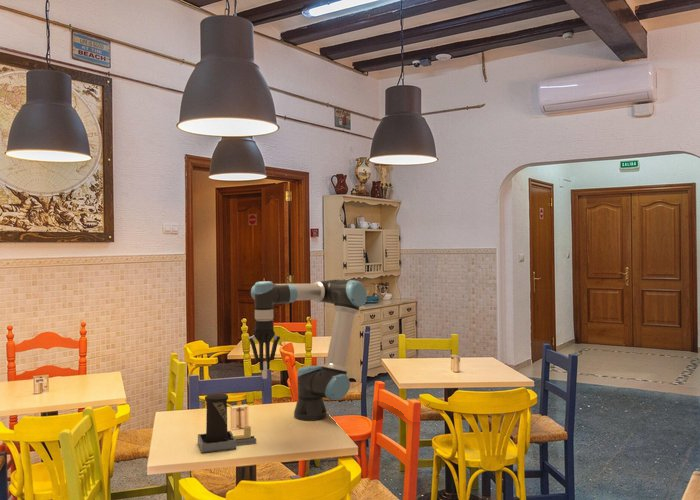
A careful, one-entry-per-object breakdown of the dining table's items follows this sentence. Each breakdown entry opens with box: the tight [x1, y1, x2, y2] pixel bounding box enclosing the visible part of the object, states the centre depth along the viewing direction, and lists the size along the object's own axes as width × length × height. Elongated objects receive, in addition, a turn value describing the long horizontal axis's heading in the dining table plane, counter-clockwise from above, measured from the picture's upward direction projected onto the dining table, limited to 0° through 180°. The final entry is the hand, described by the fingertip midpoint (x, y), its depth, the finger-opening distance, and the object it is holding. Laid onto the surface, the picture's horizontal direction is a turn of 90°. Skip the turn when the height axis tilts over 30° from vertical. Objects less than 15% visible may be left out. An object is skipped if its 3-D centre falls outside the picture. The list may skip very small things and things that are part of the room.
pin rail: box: [236, 435, 257, 447], centre depth 246 cm, size 8×4×2 cm, turn 111°
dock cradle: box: [197, 430, 237, 454], centre depth 242 cm, size 13×13×4 cm
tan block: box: [231, 425, 252, 440], centre depth 245 cm, size 8×2×5 cm, turn 111°
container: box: [204, 392, 229, 443], centre depth 242 cm, size 9×9×20 cm
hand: (264, 377), depth 249 cm, fingers closed
